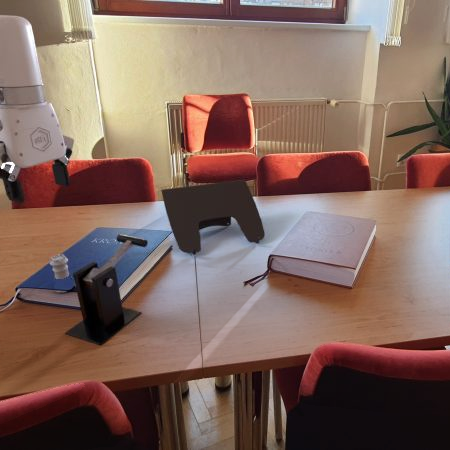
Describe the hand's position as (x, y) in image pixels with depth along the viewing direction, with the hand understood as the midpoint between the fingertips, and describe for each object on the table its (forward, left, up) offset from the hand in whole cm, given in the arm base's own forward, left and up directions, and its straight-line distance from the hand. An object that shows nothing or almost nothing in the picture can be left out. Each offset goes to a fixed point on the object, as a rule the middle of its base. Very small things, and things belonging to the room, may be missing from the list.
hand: (41, 192), depth 81 cm
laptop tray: (+14, +35, -22) cm, 44 cm away
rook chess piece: (0, 0, -22) cm, 22 cm away
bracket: (+16, -6, -22) cm, 27 cm away
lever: (+16, -1, -11) cm, 20 cm away
